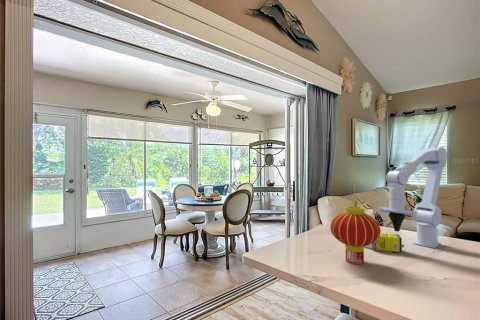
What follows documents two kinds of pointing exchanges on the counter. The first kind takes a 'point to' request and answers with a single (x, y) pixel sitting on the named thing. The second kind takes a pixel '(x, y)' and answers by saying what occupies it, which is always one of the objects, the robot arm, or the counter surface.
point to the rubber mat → (379, 250)
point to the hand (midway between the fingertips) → (397, 230)
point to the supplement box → (388, 242)
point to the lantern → (355, 231)
